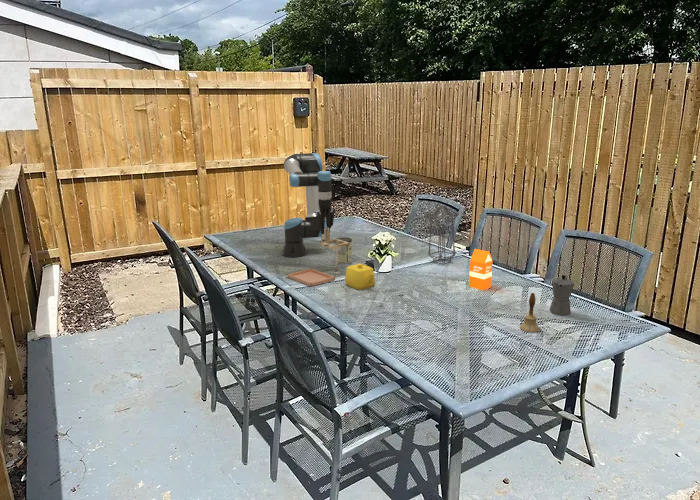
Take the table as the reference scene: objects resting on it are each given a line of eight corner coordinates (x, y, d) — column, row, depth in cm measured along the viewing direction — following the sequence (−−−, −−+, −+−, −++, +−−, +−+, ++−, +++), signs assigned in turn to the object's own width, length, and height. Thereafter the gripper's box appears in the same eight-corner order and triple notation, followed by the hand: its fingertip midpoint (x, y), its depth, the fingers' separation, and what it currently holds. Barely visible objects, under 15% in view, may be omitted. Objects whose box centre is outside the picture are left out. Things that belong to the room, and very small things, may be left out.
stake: (330, 273, 306) (330, 247, 302) (338, 271, 309) (337, 246, 305) (335, 275, 303) (334, 249, 299) (342, 273, 306) (342, 247, 302)
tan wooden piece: (314, 243, 307) (314, 231, 305) (331, 239, 314) (330, 228, 312) (333, 249, 294) (333, 236, 292) (350, 245, 302) (349, 233, 300)
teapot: (381, 288, 281) (382, 266, 278) (363, 293, 274) (363, 271, 271) (358, 278, 297) (358, 258, 293) (340, 283, 290) (340, 262, 286)
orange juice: (476, 283, 288) (478, 247, 282) (491, 286, 281) (493, 250, 276) (468, 286, 282) (470, 250, 277) (483, 290, 276) (485, 253, 271)
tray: (287, 277, 299) (287, 274, 299) (311, 271, 310) (311, 268, 309) (310, 286, 283) (310, 283, 283) (334, 280, 294) (334, 276, 294)
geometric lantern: (443, 267, 316) (444, 209, 307) (423, 262, 328) (423, 206, 319) (460, 261, 326) (461, 205, 317) (439, 257, 338) (440, 202, 329)
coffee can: (336, 258, 335) (336, 237, 331) (352, 259, 334) (352, 237, 330) (334, 263, 325) (334, 241, 322) (351, 263, 324) (351, 241, 321)
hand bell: (516, 325, 232) (519, 290, 228) (535, 324, 233) (538, 290, 229) (524, 333, 224) (527, 297, 220) (543, 332, 225) (546, 296, 221)
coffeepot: (568, 319, 238) (573, 280, 234) (546, 315, 243) (550, 277, 238) (573, 307, 252) (577, 271, 247) (552, 304, 256) (555, 268, 251)
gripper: (318, 201, 294) (319, 242, 301) (339, 198, 304) (339, 238, 310) (310, 199, 300) (311, 240, 306) (331, 196, 309) (331, 235, 316)
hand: (325, 238), depth 308 cm, fingers closed on tan wooden piece, 2 cm apart
